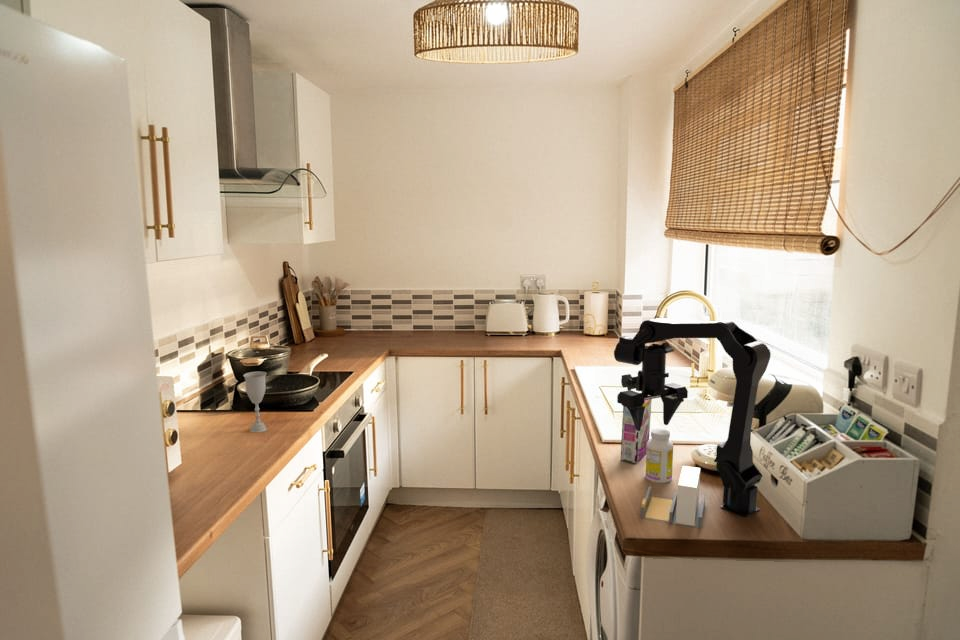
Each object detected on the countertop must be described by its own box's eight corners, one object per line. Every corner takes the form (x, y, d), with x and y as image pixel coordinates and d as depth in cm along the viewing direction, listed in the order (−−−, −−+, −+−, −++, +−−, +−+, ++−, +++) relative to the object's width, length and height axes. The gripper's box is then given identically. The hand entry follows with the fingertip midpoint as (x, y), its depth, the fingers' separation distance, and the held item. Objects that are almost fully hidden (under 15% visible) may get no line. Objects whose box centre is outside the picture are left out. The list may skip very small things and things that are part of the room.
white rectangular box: (698, 504, 161) (700, 468, 160) (694, 526, 150) (696, 487, 149) (680, 501, 163) (682, 465, 161) (675, 523, 152) (677, 484, 150)
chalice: (262, 434, 210) (259, 377, 207) (242, 433, 211) (238, 376, 208) (273, 426, 217) (270, 371, 214) (253, 425, 218) (250, 371, 215)
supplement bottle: (667, 473, 180) (669, 427, 178) (675, 484, 174) (677, 435, 171) (642, 474, 180) (644, 427, 178) (649, 484, 173) (651, 436, 171)
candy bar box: (637, 464, 186) (639, 406, 184) (619, 460, 189) (622, 403, 186) (649, 451, 196) (652, 396, 193) (632, 448, 198) (635, 394, 196)
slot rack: (704, 505, 161) (705, 491, 161) (700, 529, 150) (701, 513, 149) (648, 496, 166) (648, 483, 165) (640, 519, 154) (641, 504, 154)
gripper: (659, 358, 183) (658, 414, 186) (604, 366, 175) (603, 424, 177) (690, 366, 173) (688, 425, 176) (632, 375, 165) (631, 437, 167)
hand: (652, 427), depth 174 cm, fingers open, 9 cm apart
